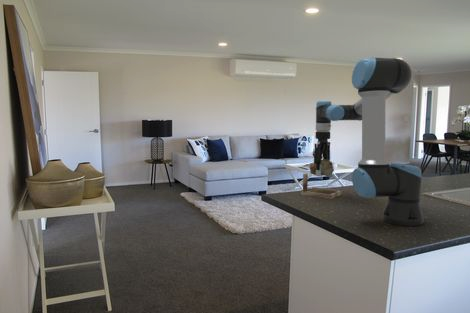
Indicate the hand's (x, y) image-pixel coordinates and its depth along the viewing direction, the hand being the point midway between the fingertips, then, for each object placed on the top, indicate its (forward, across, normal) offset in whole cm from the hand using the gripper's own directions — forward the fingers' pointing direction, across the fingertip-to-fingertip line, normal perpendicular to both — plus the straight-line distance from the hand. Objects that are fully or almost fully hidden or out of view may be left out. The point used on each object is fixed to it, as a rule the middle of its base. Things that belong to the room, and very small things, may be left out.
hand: (321, 175), depth 198 cm
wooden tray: (+10, 0, 0) cm, 10 cm away
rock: (+1, 0, 0) cm, 1 cm away
